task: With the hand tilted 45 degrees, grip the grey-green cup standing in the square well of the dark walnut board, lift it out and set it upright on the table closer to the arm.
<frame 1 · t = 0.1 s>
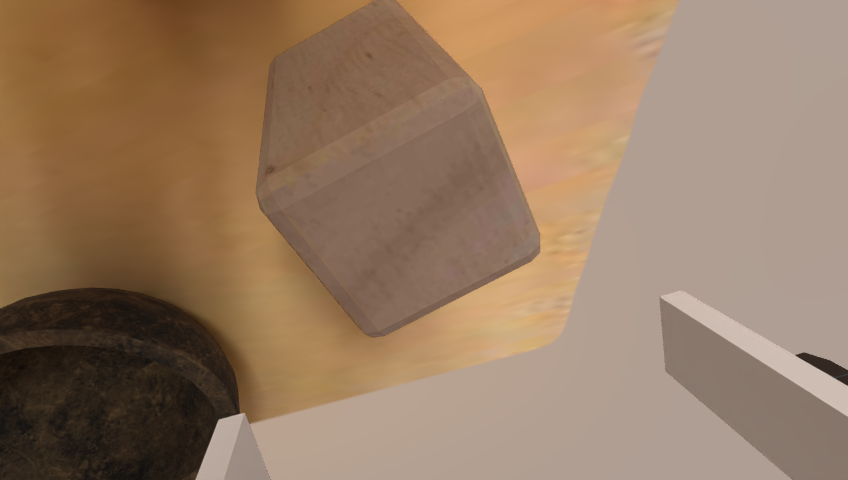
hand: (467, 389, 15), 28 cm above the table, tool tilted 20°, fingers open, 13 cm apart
bowl: (121, 338, 46), on the table
wooden block: (361, 86, 38), on the table
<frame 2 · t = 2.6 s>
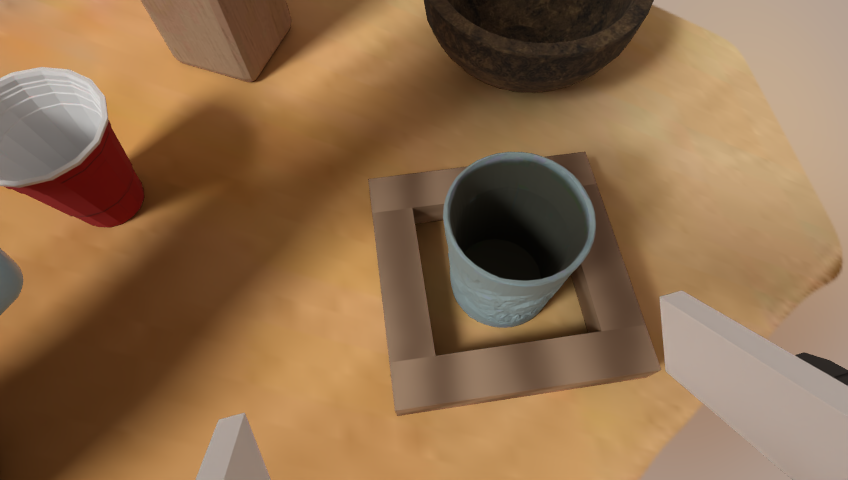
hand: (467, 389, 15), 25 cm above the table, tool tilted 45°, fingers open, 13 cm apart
bowl: (518, 54, 56), on the table
grey-green cup: (496, 280, 44), resting in well board
well board: (497, 279, 44), on the table
plastic cup: (117, 202, 48), on the table
wooden block: (237, 45, 57), on the table
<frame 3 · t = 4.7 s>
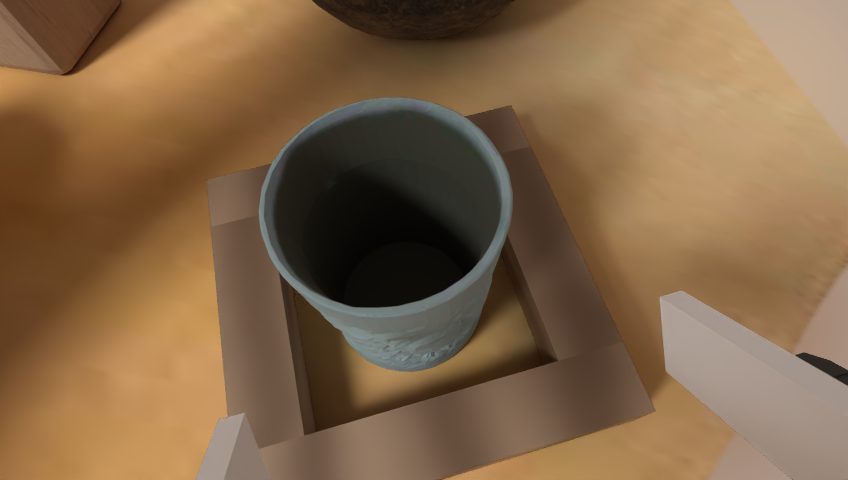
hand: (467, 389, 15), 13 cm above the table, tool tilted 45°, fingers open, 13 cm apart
bowl: (420, 0, 43), on the table
grey-green cup: (405, 300, 31), resting in well board
well board: (405, 299, 30), on the table
wooden block: (51, 32, 43), on the table
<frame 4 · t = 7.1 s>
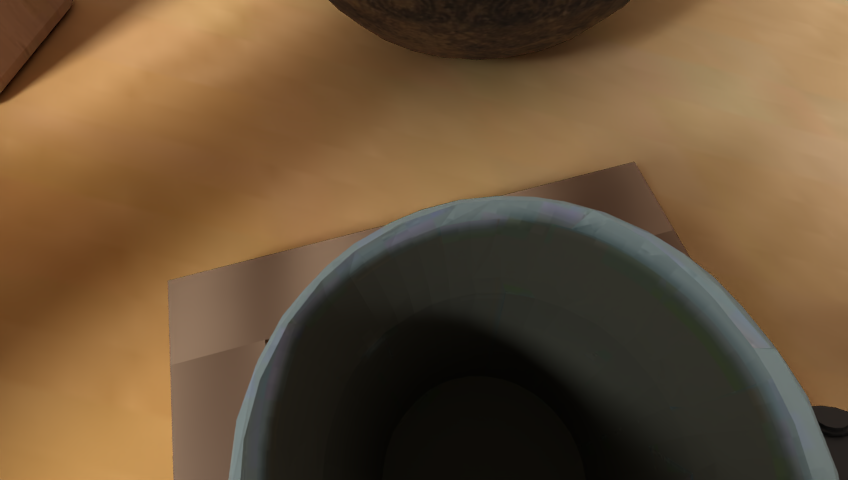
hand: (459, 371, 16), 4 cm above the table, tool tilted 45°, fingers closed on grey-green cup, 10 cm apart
bowl: (473, 3, 32), on the table
grey-green cup: (481, 479, 19), resting in well board, touching gripper
well board: (481, 479, 19), on the table
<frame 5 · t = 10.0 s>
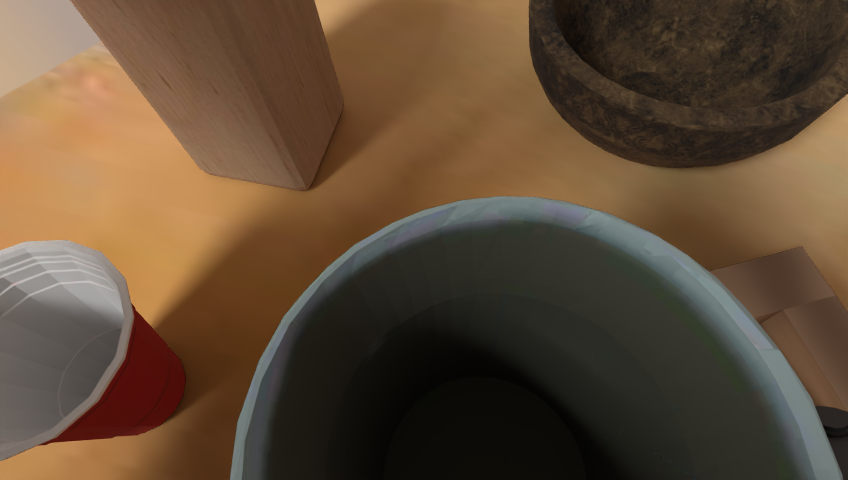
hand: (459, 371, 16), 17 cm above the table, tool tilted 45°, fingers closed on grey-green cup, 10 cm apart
bowl: (644, 108, 43), on the table
grey-green cup: (482, 479, 19), point 12 cm above the table, touching gripper
well board: (717, 455, 30), on the table
plastic cup: (149, 391, 34), on the table
wooden block: (278, 141, 44), on the table
when the fingers open (6 cm above the table, at t = 12.8 s): grey-green cup drops 1 cm, on the table.
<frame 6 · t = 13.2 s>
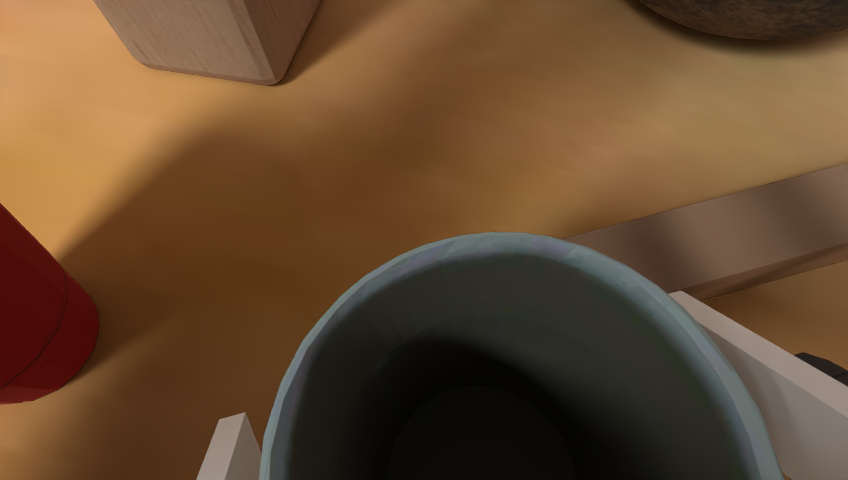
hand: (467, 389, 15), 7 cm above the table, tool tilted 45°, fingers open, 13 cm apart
plastic cup: (46, 343, 24), on the table
wooden block: (240, 31, 34), on the table
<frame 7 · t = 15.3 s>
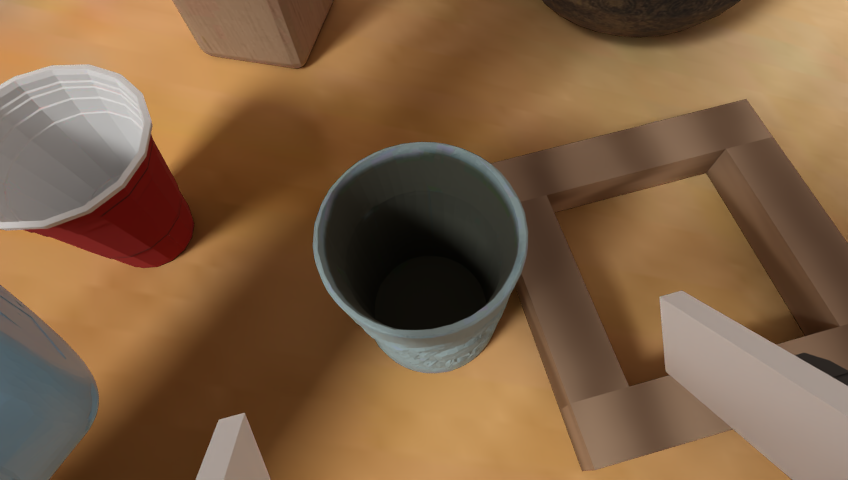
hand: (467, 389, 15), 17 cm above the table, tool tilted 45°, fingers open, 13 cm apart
grey-green cup: (429, 309, 34), on the table
well board: (664, 273, 34), on the table
plastic cup: (161, 234, 38), on the table
wooden block: (273, 28, 47), on the table
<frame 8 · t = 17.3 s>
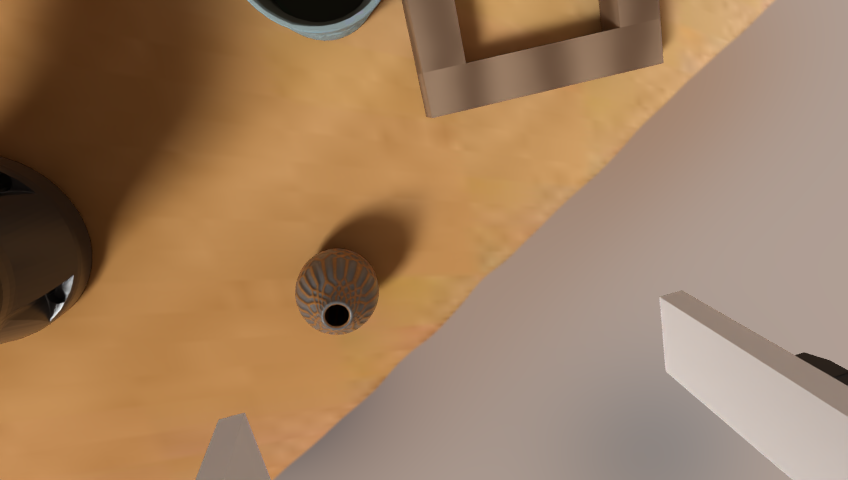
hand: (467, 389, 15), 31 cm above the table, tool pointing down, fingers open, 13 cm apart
vase: (338, 275, 46), on the table
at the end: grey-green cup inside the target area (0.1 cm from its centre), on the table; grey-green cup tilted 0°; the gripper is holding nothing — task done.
